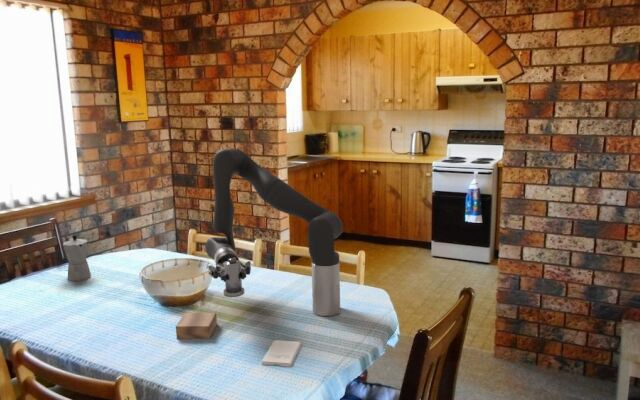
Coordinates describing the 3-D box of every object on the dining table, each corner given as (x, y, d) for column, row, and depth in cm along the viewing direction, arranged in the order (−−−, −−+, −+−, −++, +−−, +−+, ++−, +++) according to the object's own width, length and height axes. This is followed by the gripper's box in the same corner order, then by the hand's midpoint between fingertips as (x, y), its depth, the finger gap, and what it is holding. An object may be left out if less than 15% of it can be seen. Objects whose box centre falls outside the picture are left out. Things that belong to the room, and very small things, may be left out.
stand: (216, 324, 169) (216, 312, 169) (209, 338, 160) (208, 326, 159) (186, 324, 170) (185, 312, 169) (176, 338, 160) (175, 326, 159)
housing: (246, 289, 167) (244, 255, 164) (242, 297, 160) (240, 262, 158) (226, 289, 167) (224, 255, 165) (221, 297, 161) (219, 262, 158)
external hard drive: (300, 346, 154) (290, 368, 142) (273, 345, 156) (261, 366, 144) (300, 341, 154) (290, 362, 142) (273, 339, 156) (261, 360, 144)
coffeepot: (97, 278, 215) (92, 235, 211) (73, 284, 208) (68, 240, 205) (82, 269, 226) (78, 229, 222) (59, 275, 219) (54, 233, 216)
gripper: (204, 252, 173) (209, 268, 157) (247, 247, 177) (257, 263, 161) (205, 274, 174) (211, 292, 159) (248, 268, 179) (258, 286, 163)
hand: (234, 277), depth 160 cm, fingers closed on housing, 5 cm apart
